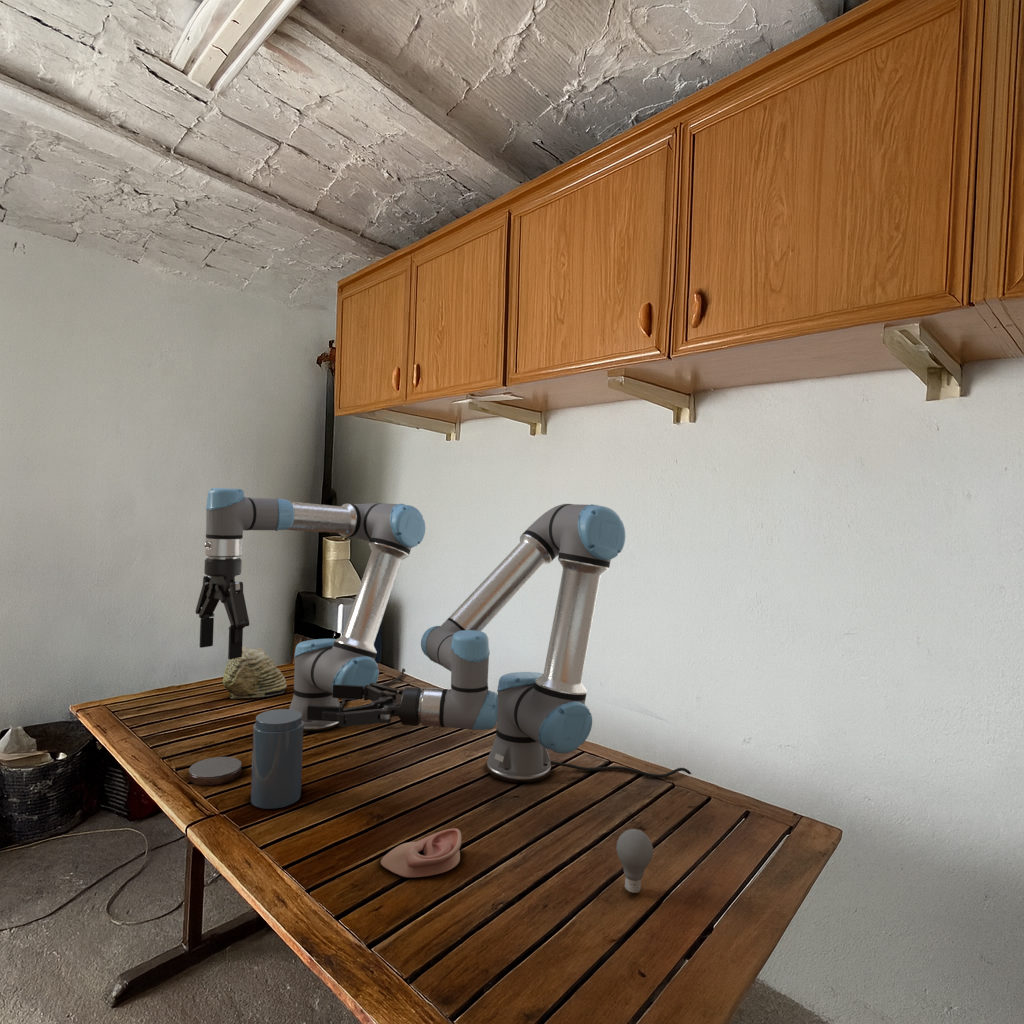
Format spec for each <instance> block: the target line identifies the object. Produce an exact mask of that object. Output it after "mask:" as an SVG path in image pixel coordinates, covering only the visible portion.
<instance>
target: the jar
mask: <svg viewBox="0 0 1024 1024" xmlns="http://www.w3.org/2000/svg"><path fill="white" fill-rule="evenodd" d="M302 717H303V716H302V714H301V713H300V712H299V711H296V710H291V709H289V708H278V709H277V708H276V709H271V710H266V711H262V712H261V713H259V714H257V715H256V716H255V723H254V724H253V727H252V749H251V775H250V777H251V778H250V804H252V805H253V806H254V807H256V808H259V809H265V810H272V809H281V808H284V807H287V806H291V805H293V804H295V803H297V802H298V801H299V800H300V799H301V796H302V785H303V783H302V781H303V753H304V732H303V731H304V722H303V720H302Z"/></svg>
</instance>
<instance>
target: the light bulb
mask: <svg viewBox="0 0 1024 1024" xmlns="http://www.w3.org/2000/svg"><path fill="white" fill-rule="evenodd" d="M615 849H616V854H617V857H618V859H619V861H620V863H621V865H622V867H623V873H624V874H623V875H624V876H625V878H624V888H625V890H627V891H628V892H630V893H634V894H635V893H639V892H640V891H641V889H642V887H641V886H642V879H643V877H644V875H645V871H646V868H647V867H648V866H649V864H650V863H651V861H652V859H653V855H654V847H653V843H652V841H651V838H649V836H648V835H647V834H646V833H645V832H643V831H642V830H641V829H636V828H629V829H627V830H625V831H623V832H622V833H621V834H620V835H619V837H618V839H617V841H616V847H615Z"/></svg>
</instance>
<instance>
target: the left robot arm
mask: <svg viewBox="0 0 1024 1024" xmlns="http://www.w3.org/2000/svg"><path fill="white" fill-rule="evenodd" d="M205 511H206V513H205V514H206V515H205V517H206V518H205V519H206V520H205V542H204V543H203V547H204V548H205V549H204V554H205V556H206V558H205V559H204V569H203V570H204V571H203V573H204V576H203V578H202V586H201V590H200V593H199V596H198V601H197V603H196V607H195V614H196V615H198V618H199V624H200V625H199V648H201V649H202V648H209V647H213V646H214V625H215V624H214V623H215V618H214V617H215V610H216V608H217V606H218V605H219V602H220V603H222V604H223V606H224V609H225V611H226V615H227V619H228V620H229V624H230V625H229V627H228V649H227V651H228V652H227V659H228V660H229V659H235V658H241V657H242V647H243V642H244V641H243V638H244V637H243V636H244V634H243V633H244V628H247V627H249V626H250V619H249V618H250V617H249V614H248V609H247V603H246V599H245V594H244V583H243V581H236V576H239V575H241V574H242V564H243V563H242V561H243V560H242V558H240V557H241V556H243V543H244V542H243V541H244V540H243V539H244V537H243V536H244V531H275V532H278V531H299V532H300V531H301V532H315V533H328V534H329V533H330V534H339V535H340V536H341V537H342V538H354V539H357V540H362V541H366V542H368V546H369V548H370V550H371V552H370V555H369V558H368V561H367V564H366V567H365V569H364V572H363V577H362V578H361V582H360V585H359V587H358V590H357V593H356V596H355V599H354V601H353V605H352V607H351V611H350V613H349V616H348V619H347V621H346V624H345V628H344V630H343V633H342V635H341V636H339V637H338V638H318V639H308V640H304V641H300V642H299V643H297V644H296V646H295V650H294V655H293V657H294V672H293V673H294V674H293V695H292V696H293V697H292V699H291V702H290V704H289V708H288V709H291V710H296V711H299V712H300V713H301V714H302V716H303V717H302V720H303V722H304V731H303V733H316V732H325V731H329V730H332V729H335V728H337V727H339V722H336V721H319V720H307V707H308V705H319V706H337V707H339V706H340V705H341V706H343V707H344V706H345V704H346V700H347V701H357V700H359V699H346V698H341V702H340V698H333V685H334V684H335V685H353V686H363V687H364V686H365V685H369V686H370V683H376V684H377V682H378V679H379V676H380V675H379V674H380V670H379V665H378V663H377V662H376V657H377V654H378V651H377V649H376V647H375V642H376V638H377V635H378V633H379V631H380V626H381V624H382V621H383V618H384V615H385V612H386V609H387V605H388V603H389V599H390V596H391V593H392V590H393V587H394V584H395V582H396V578H397V575H398V572H399V570H400V566H401V563H402V561H404V560H405V559H408V558H409V556H410V554H411V550H412V549H413V548H415V547H417V546H418V545H420V544H421V543H422V541H424V538H425V535H426V522H425V519H424V517H423V514H422V512H421V511H420V510H419V509H418V508H417V507H415V506H413V505H409V504H405V503H385V502H383V503H382V502H371V503H370V502H369V503H343V504H342V505H341V506H340V505H330V504H320V503H311V502H310V503H309V502H301V501H300V502H298V501H290V500H288V499H286V498H285V499H284V498H277V497H275V498H272V497H271V498H268V497H267V498H266V497H250V496H249V497H248V496H245V490H243V489H242V488H225V487H212V488H210V489H209V490H208V491H207V496H206V507H205ZM405 673H406V669H405V668H403V667H402V669H401V672H400V675H399V676H397V677H396V678H394V679H393V680H392V679H391V680H390V681H386V682H383V683H379V684H380V685H384V686H388V685H392V684H393V683H396V682H398V681H400V680H401V678H402V677H403V676H404V674H405ZM401 674H402V675H401ZM363 698H364V695H363Z"/></svg>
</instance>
